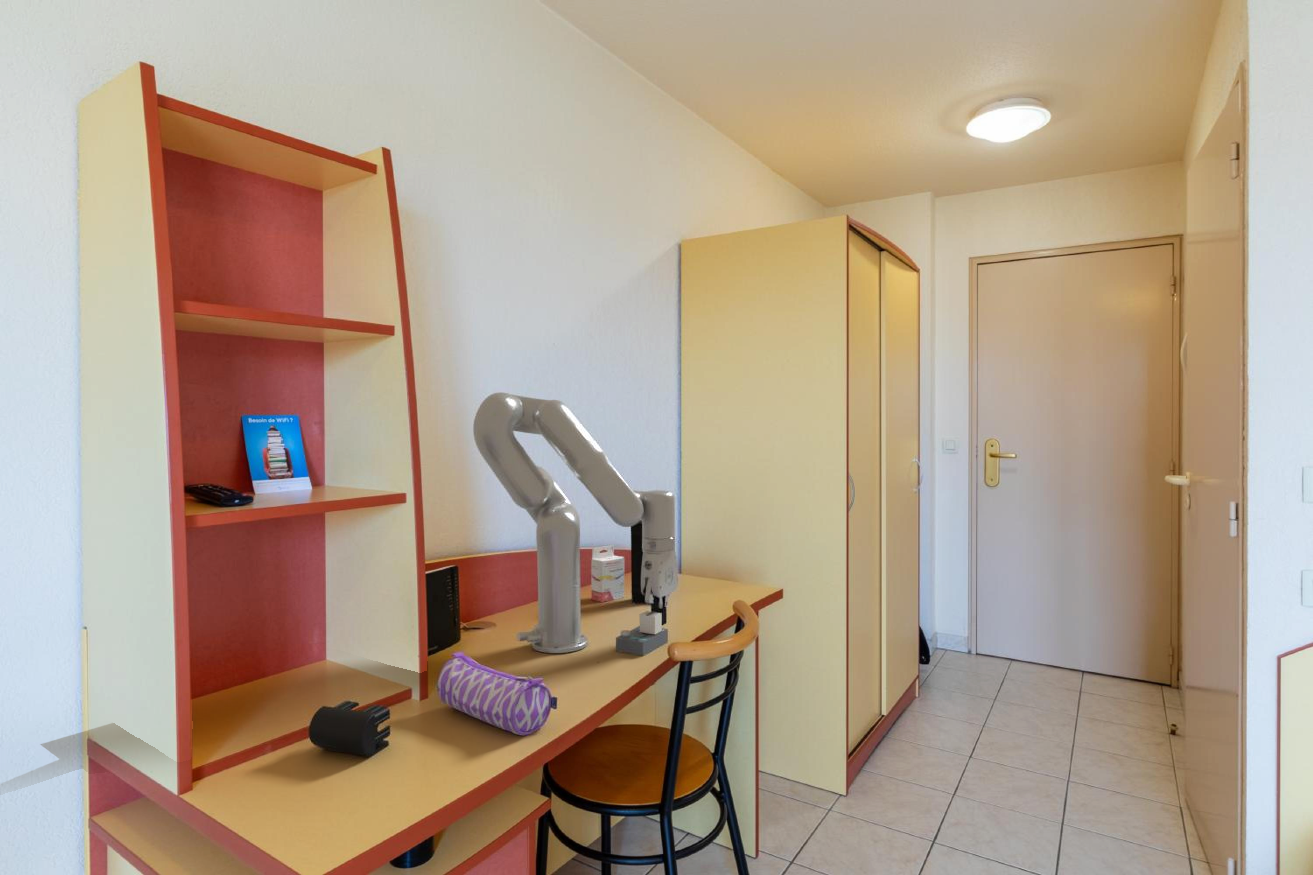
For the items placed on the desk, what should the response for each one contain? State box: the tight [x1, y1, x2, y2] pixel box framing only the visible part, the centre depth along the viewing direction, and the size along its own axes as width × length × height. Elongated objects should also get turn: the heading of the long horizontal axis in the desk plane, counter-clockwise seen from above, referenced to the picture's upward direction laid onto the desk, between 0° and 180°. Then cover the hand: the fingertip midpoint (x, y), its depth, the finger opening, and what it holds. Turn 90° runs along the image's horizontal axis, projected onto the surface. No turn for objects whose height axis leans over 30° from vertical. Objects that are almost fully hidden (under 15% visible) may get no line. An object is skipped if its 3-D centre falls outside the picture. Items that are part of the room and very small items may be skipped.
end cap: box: [308, 700, 391, 758], centre depth 113 cm, size 10×7×7 cm
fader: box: [639, 610, 663, 634], centre depth 163 cm, size 3×4×4 cm
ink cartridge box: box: [590, 544, 625, 603], centre depth 206 cm, size 9×5×15 cm, turn 133°
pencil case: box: [436, 651, 558, 736], centre depth 124 cm, size 22×9×10 cm, turn 55°
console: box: [615, 625, 669, 657], centre depth 163 cm, size 11×7×4 cm, turn 150°
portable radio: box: [630, 520, 650, 605], centre depth 203 cm, size 8×6×25 cm
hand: (658, 623), depth 167 cm, fingers closed
